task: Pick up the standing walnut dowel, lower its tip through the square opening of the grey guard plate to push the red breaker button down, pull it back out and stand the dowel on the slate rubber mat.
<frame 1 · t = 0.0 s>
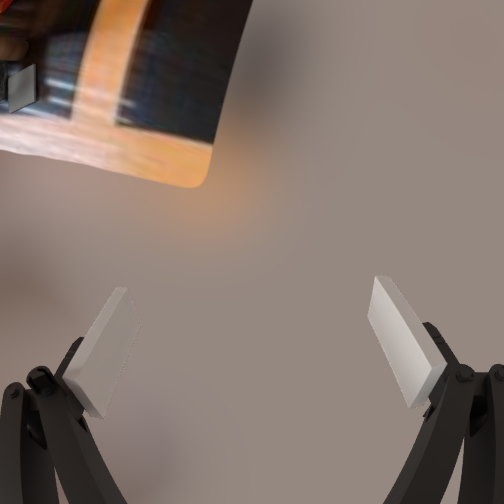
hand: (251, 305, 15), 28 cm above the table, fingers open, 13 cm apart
paper cup: (6, 0, 21), on the table
mat: (22, 89, 31), on the table
stylus: (21, 50, 27), on the table
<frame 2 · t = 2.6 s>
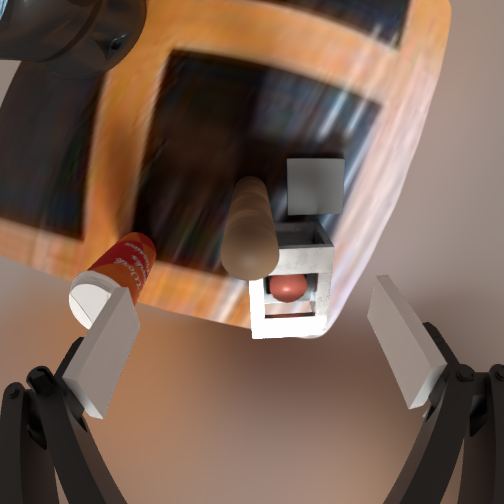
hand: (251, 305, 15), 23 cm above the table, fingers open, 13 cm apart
paper cup: (138, 249, 39), on the table
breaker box: (283, 263, 39), on the table
mat: (315, 186, 35), on the table
breaker button: (287, 280, 35), point 5 cm above the table, slide at 0.0 cm
stylus: (250, 191, 35), on the table
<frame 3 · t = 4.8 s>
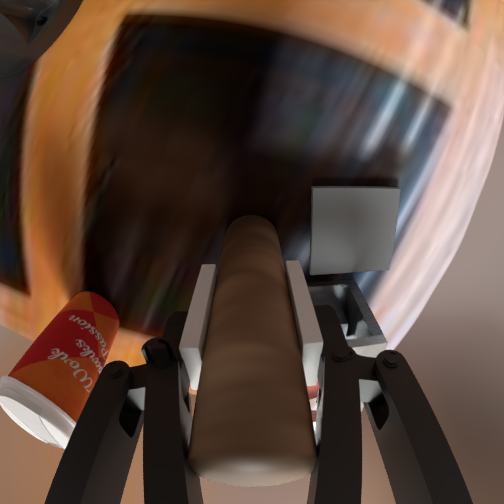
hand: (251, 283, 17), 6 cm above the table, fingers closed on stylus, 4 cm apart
paper cup: (95, 312, 26), on the table
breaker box: (299, 335, 27), on the table
mat: (353, 229, 22), on the table
breaker button: (306, 371, 22), point 5 cm above the table, slide at 0.0 cm
stylus: (251, 239, 22), on the table, touching gripper
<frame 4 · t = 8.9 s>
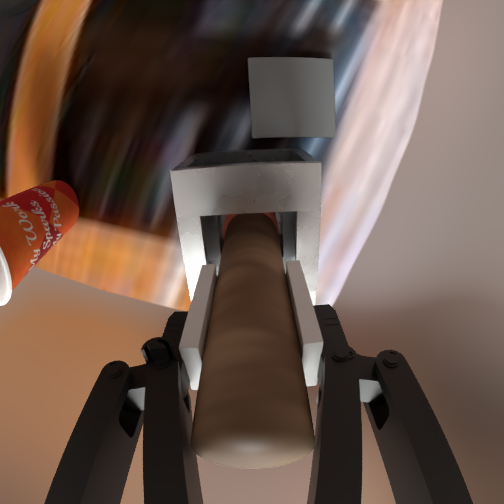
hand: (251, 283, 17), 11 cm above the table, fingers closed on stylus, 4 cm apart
paper cup: (60, 203, 26), on the table
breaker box: (250, 215, 26), on the table
mat: (292, 96, 22), on the table
breaker button: (250, 225, 24), point 2 cm above the table, slide at 2.0 cm, touching stylus
stylus: (251, 234, 23), point 4 cm above the table, touching breaker button, gripper
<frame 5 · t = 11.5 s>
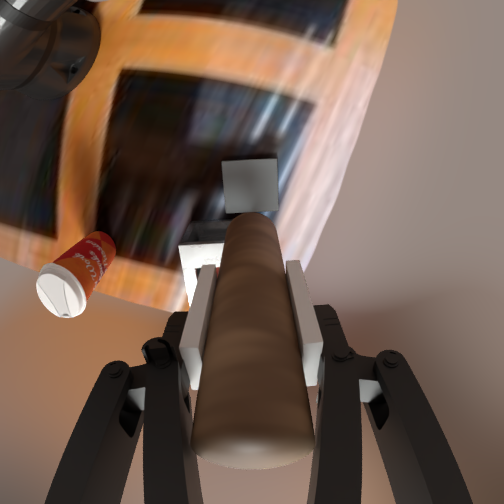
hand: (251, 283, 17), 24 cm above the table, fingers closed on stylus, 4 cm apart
paper cup: (101, 246, 42), on the table
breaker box: (227, 258, 42), on the table
mat: (250, 185, 38), on the table
breaker button: (225, 266, 40), point 3 cm above the table, slide at 1.9 cm
stylus: (251, 236, 23), point 17 cm above the table, touching gripper
when the fingers open (8 cm above the table, at t = 14.0 s): stylus stays where it is, resting on mat.
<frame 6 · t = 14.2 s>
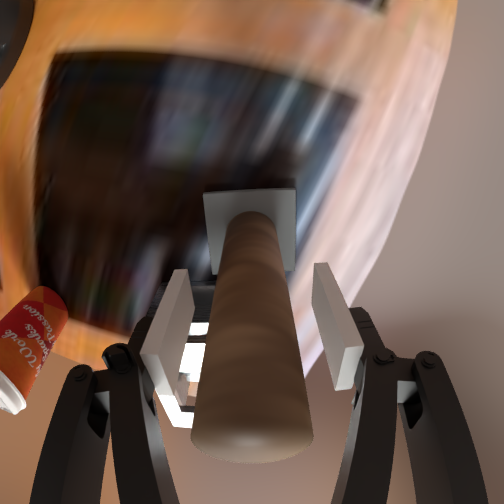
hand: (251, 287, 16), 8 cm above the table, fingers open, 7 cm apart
paper cup: (50, 304, 28), on the table
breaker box: (216, 331, 28), on the table
mat: (251, 231, 24), on the table
breaker button: (214, 349, 26), point 3 cm above the table, slide at 1.9 cm
stylus: (251, 235, 23), point 1 cm above the table, touching mat
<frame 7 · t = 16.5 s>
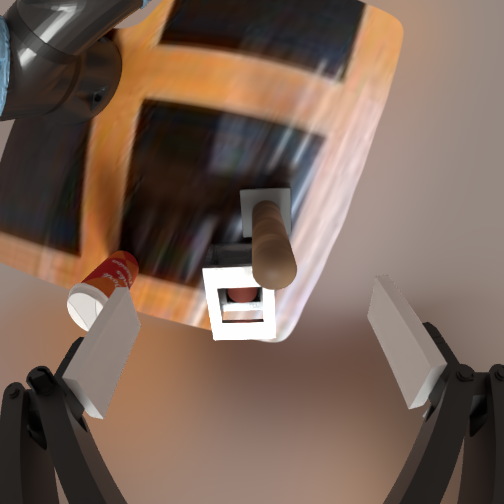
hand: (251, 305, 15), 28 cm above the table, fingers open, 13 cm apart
paper cup: (124, 264, 46), on the table
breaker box: (243, 276, 47), on the table
mat: (266, 212, 42), on the table
breaker button: (242, 285, 44), point 3 cm above the table, slide at 1.9 cm
stylus: (266, 213, 41), point 1 cm above the table, touching mat
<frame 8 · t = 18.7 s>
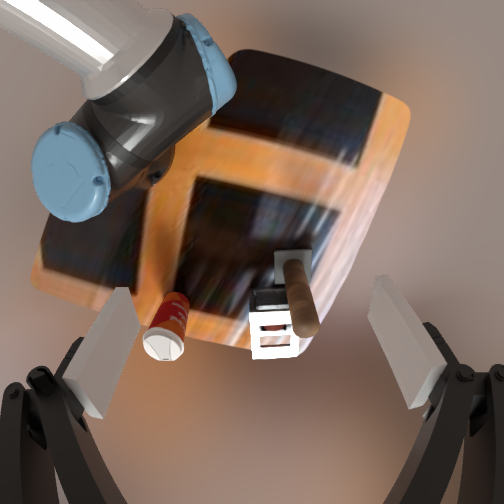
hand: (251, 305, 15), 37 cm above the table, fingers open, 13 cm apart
paper cup: (177, 301, 60), on the table
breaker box: (272, 310, 60), on the table
mat: (292, 266, 56), on the table
breaker button: (273, 318, 58), point 3 cm above the table, slide at 1.9 cm
stylus: (293, 268, 55), point 1 cm above the table, touching mat
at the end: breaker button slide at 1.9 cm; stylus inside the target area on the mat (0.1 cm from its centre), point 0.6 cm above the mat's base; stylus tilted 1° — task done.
